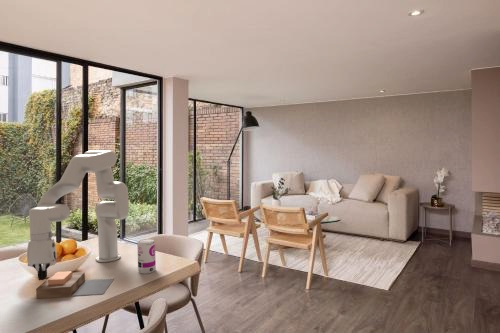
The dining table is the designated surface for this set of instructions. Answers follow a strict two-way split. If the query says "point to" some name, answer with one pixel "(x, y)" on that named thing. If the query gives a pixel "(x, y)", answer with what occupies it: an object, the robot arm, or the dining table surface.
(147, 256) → the supplement can
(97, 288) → the mat
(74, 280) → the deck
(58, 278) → the peach rectangular tile
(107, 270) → the dining table surface
